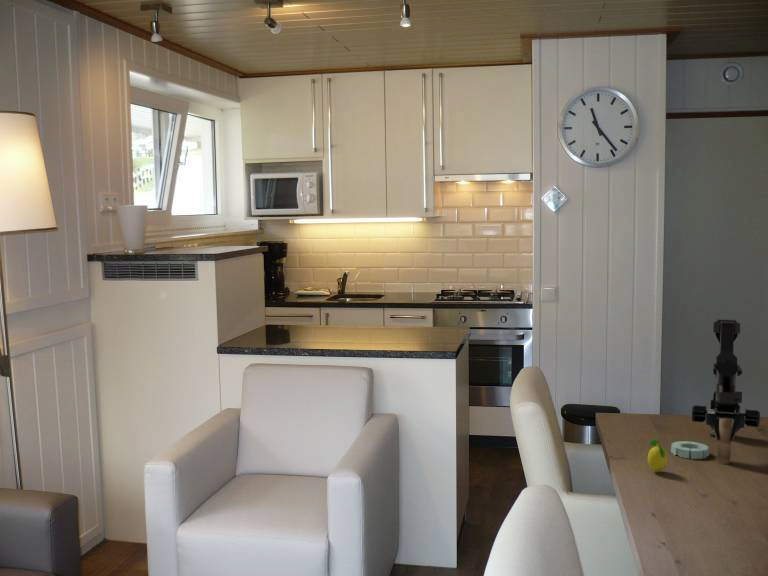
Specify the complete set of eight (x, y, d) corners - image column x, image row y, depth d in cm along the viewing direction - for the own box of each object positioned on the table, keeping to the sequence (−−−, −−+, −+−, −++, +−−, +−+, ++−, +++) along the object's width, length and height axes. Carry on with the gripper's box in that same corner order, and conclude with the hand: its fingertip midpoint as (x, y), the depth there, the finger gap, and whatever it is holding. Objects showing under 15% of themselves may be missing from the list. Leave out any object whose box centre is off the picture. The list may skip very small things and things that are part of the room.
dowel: (720, 460, 249) (721, 417, 248) (731, 462, 246) (733, 419, 245) (715, 462, 246) (717, 419, 245) (727, 465, 244) (729, 421, 243)
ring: (679, 447, 262) (680, 439, 262) (713, 453, 256) (713, 445, 255) (666, 454, 255) (666, 446, 254) (700, 461, 248) (700, 452, 248)
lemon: (649, 467, 242) (650, 433, 241) (669, 470, 239) (671, 436, 238) (643, 473, 236) (644, 439, 235) (664, 476, 233) (665, 442, 232)
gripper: (693, 378, 251) (691, 422, 242) (761, 383, 244) (761, 429, 235) (693, 398, 259) (690, 442, 250) (758, 403, 252) (758, 449, 243)
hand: (724, 440), depth 244 cm, fingers closed on dowel, 3 cm apart
